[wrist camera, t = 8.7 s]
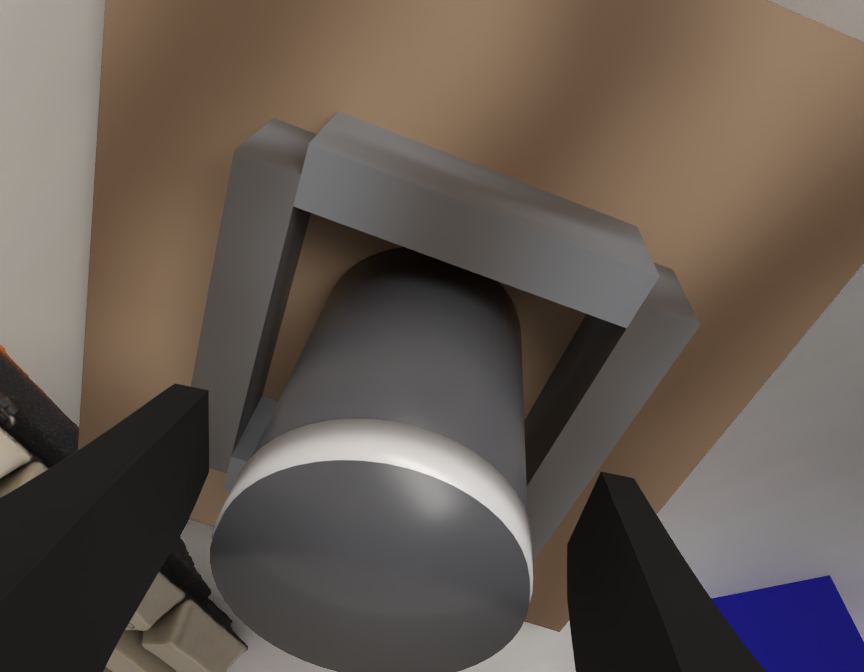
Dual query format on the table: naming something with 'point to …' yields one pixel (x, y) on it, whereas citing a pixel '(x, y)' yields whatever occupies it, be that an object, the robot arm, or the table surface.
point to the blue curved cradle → (796, 627)
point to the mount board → (476, 211)
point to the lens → (389, 480)
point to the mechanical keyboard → (177, 579)
